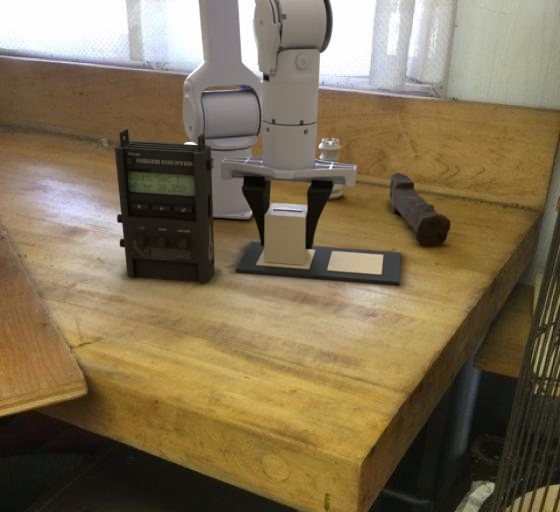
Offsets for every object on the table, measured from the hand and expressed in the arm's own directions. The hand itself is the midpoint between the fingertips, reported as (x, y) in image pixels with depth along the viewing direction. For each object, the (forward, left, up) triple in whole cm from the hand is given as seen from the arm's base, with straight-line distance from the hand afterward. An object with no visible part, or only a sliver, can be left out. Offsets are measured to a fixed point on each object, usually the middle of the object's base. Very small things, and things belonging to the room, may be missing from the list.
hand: (286, 244), depth 79 cm
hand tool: (+14, +17, -2) cm, 22 cm away
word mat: (+4, 0, -2) cm, 4 cm away
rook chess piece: (+2, +27, -2) cm, 27 cm away
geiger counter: (-12, -7, -2) cm, 14 cm away
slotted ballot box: (0, 0, -1) cm, 1 cm away
